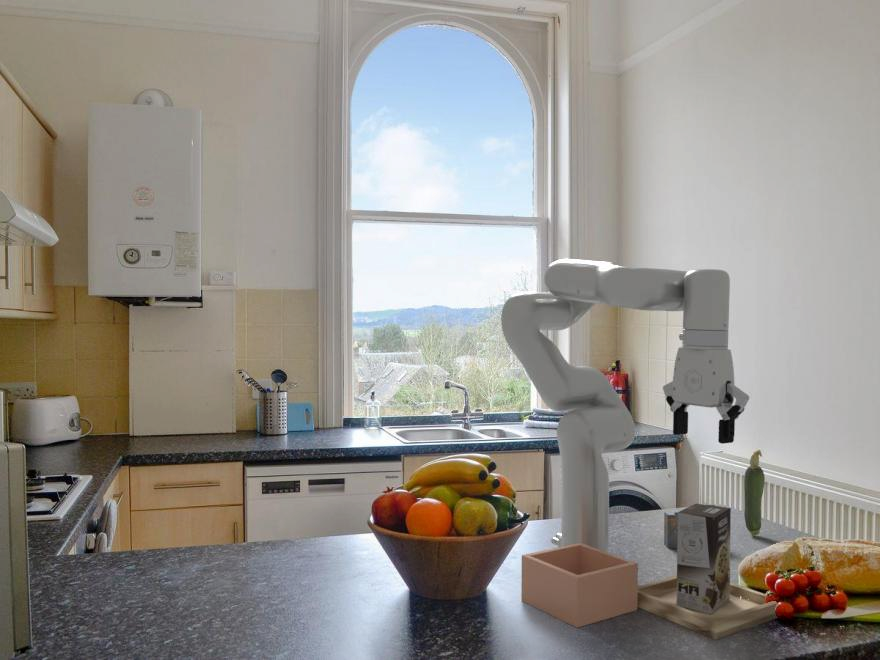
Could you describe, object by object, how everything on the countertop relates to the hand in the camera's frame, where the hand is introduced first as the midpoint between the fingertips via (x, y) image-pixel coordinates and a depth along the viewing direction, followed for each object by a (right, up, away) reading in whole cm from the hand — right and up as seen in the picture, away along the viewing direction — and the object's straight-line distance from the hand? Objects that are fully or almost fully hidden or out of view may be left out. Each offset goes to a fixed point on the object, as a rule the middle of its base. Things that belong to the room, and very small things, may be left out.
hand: (702, 438), depth 130 cm
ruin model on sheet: (+10, -29, +34) cm, 46 cm away
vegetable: (+27, -29, +43) cm, 58 cm away
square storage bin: (-22, -29, -1) cm, 36 cm away
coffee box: (-1, -28, -2) cm, 28 cm away
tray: (0, -29, -3) cm, 29 cm away
